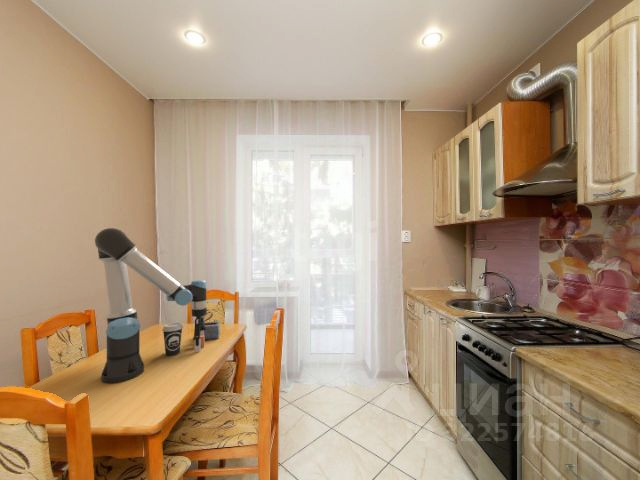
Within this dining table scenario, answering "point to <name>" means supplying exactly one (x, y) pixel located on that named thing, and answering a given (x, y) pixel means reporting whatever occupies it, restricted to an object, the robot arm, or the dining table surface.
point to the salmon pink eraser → (201, 341)
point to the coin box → (212, 330)
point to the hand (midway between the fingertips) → (199, 346)
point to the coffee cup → (172, 338)
